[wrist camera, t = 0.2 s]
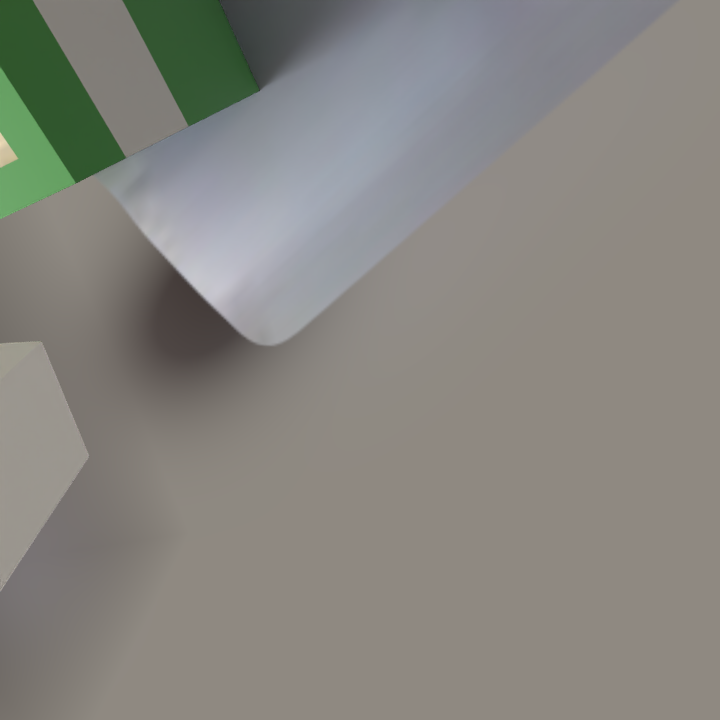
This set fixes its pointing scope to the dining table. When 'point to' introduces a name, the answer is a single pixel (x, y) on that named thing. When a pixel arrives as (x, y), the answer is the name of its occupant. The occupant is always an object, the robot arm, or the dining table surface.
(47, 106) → the hardback book
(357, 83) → the dining table surface
